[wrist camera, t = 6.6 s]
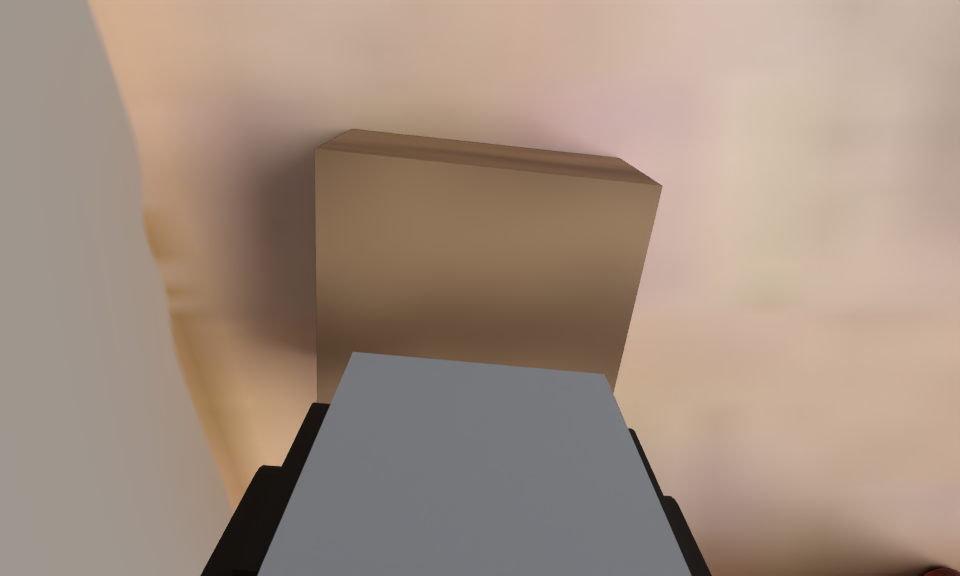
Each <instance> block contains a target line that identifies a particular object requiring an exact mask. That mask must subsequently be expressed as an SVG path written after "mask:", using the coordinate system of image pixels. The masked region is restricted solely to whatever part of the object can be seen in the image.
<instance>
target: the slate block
mask: <svg viewBox="0 0 960 576" xmlns="http://www.w3.org/2000/svg"><path fill="white" fill-rule="evenodd" d="M257 576H691V573H690V571H689V569H688V566H687V564H686V562H685V559H684V557H683V555H682V552H681V550H680V548H679V546H678V543H677V541H676V539H675V536H674V534H673V532H672V529H671V527H670V525H669V522H668V520H667V518H666V515H665V513H664V511H663V508H662V506H661V504H660V501H659V499H658V497H657V495H656V492H655V490H654V488H653V485H652V483H651V481H650V478H649V476H648V474H647V471H646V469H645V467H644V464H643V462H642V460H641V457H640V455H639V453H638V451H637V448H636V446H635V444H634V441H633V439H632V437H631V434H630V432H629V430H628V427H627V425H626V423H625V420H624V418H623V416H622V413H621V411H620V409H619V406H618V404H617V402H616V400H615V397H614V395H613V393H612V390H611V388H610V386H609V383H608V381H607V379H606V376H605V374H597V373H586V372H574V371H563V370H552V369H541V368H530V367H518V366H507V365H496V364H485V363H473V362H462V361H451V360H440V359H428V358H417V357H406V356H395V355H384V354H372V353H361V352H353V353H352V355H351V357H350V360H349V362H348V364H347V367H346V369H345V371H344V374H343V376H342V378H341V381H340V383H339V385H338V388H337V390H336V393H335V395H334V397H333V400H332V402H331V404H330V407H329V409H328V411H327V414H326V416H325V418H324V421H323V423H322V425H321V428H320V430H319V432H318V435H317V437H316V439H315V442H314V444H313V446H312V449H311V451H310V453H309V456H308V458H307V460H306V463H305V465H304V467H303V470H302V472H301V474H300V477H299V479H298V482H297V484H296V486H295V489H294V491H293V493H292V496H291V498H290V500H289V503H288V505H287V507H286V510H285V512H284V514H283V517H282V519H281V521H280V524H279V526H278V528H277V531H276V533H275V535H274V538H273V540H272V542H271V545H270V547H269V549H268V552H267V554H266V556H265V559H264V561H263V563H262V566H261V568H260V571H259V573H258V575H257Z"/></svg>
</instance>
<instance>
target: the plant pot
mask: <svg viewBox="0 0 960 576" xmlns="http://www.w3.org/2000/svg"><path fill="white" fill-rule="evenodd" d="M923 576H960V572H958V571H956V570H953V569H949V568H941V569H936V570H933V571H930V572H928V573H926V574H925V575H923Z"/></svg>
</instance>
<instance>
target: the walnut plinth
mask: <svg viewBox="0 0 960 576" xmlns="http://www.w3.org/2000/svg"><path fill="white" fill-rule="evenodd" d="M661 190H662V185H660V184H659V183H657V182H656V181H654V180H653V179H651V178H650V177H648V176H646V175H645V174H643V173H642V172H640V171H639V170H637V169H636V168H634V167H633V166H631V165H630V164H628V163H626V162H625V161H623V160H622V159H620V158H613V157H604V156H595V155H586V154H577V153H567V152H558V151H549V150H540V149H531V148H522V147H512V146H503V145H494V144H485V143H476V142H466V141H457V140H448V139H439V138H430V137H421V136H411V135H402V134H393V133H384V132H375V131H366V130H356V129H351V130H350V131H348V132H346V133H344V134H342V135H340V136H338V137H336V138H334V139H332V140H330V141H329V142H327V143H325V144H323V145H321V146H319V147H317V148H315V224H316V323H317V403H327V404H331V402H332V400H333V397H334V395H335V393H336V390H337V388H338V385H339V383H340V381H341V378H342V376H343V374H344V371H345V369H346V367H347V364H348V362H349V360H350V357H351V355H352V353H353V352H361V353H372V354H384V355H395V356H406V357H417V358H428V359H440V360H451V361H462V362H473V363H485V364H496V365H507V366H518V367H530V368H541V369H552V370H563V371H574V372H586V373H597V374H605V376H606V379H607V381H608V383H609V386H610V388H611V390H612V393H613V392H614V388H615V384H616V379H617V375H618V371H619V367H620V363H621V358H622V354H623V350H624V346H625V342H626V337H627V333H628V329H629V325H630V321H631V316H632V312H633V308H634V304H635V300H636V295H637V291H638V287H639V283H640V278H641V274H642V270H643V266H644V262H645V257H646V253H647V249H648V245H649V241H650V236H651V232H652V228H653V224H654V220H655V215H656V211H657V207H658V203H659V199H660V194H661Z"/></svg>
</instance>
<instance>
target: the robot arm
mask: <svg viewBox="0 0 960 576" xmlns="http://www.w3.org/2000/svg"><path fill="white" fill-rule="evenodd" d="M329 407H330V404H327V403H312V405H311V407H310V409H309V411H308V413H307V415H306V417H305V419H304V421H303V423H302V425H301V428H300V430H299V432H298V434H297V436H296V438H295V440H294V442H293V444H292V446H291V448H290V450H289V452H288V454H287V457H286V459H285V461H284V463H283V465H282V467H280V466H267V465H263V466H261V467H260V468H259V469H258V471H257V472H256V474H255V475H254V477H253V479H252V481H251V483H250V485H249V487H248V488H247V490H246V492H245V494H244V496H243V498H242V500H241V501H240V503H239V505H238V507H237V509H236V511H235V513H234V514H233V516H232V518H231V520H230V522H229V524H228V526H227V527H226V529H225V531H224V533H223V535H222V537H221V539H220V540H219V543H218V544H217V546H216V548H215V550H214V552H213V553H212V555H211V557H210V559H209V561H208V563H207V565H206V566H205V568H204V570H203V572H202V574H201V576H257V575H258V573H259V571H260V568H261V566H262V563H263V561H264V559H265V556H266V554H267V552H268V549H269V547H270V545H271V542H272V540H273V538H274V535H275V533H276V531H277V528H278V526H279V524H280V521H281V519H282V517H283V514H284V512H285V510H286V507H287V505H288V503H289V500H290V498H291V496H292V493H293V491H294V489H295V486H296V484H297V482H298V479H299V477H300V474H301V472H302V470H303V467H304V465H305V463H306V460H307V458H308V456H309V453H310V451H311V449H312V446H313V444H314V442H315V439H316V437H317V435H318V432H319V430H320V428H321V425H322V423H323V421H324V418H325V416H326V414H327V411H328V409H329ZM628 430H629V432H630V434H631V437H632V439H633V441H634V444H635V446H636V448H637V451H638V453H639V455H640V457H641V460H642V462H643V464H644V467H645V469H646V471H647V474H648V476H649V478H650V481H651V483H652V485H653V488H654V490H655V492H656V495H657V497H658V499H659V501H660V504H661V506H662V508H663V511H664V513H665V515H666V518H667V520H668V522H669V525H670V527H671V529H672V532H673V534H674V536H675V539H676V541H677V543H678V546H679V548H680V550H681V552H682V555H683V557H684V559H685V562H686V564H687V566H688V569H689V571H690V573H691V576H712V575H711V573H710V571H709V569H708V567H707V565H706V563H705V561H704V558H703V556H702V554H701V552H700V550H699V548H698V546H697V544H696V541H695V539H694V537H693V535H692V533H691V531H690V529H689V527H688V525H687V522H686V520H685V518H684V516H683V514H682V512H681V510H680V508H679V505H678V504H677V502H676V501H675V499H674V498H672V497H671V496H663V493H662V491H661V489H660V487H659V484H658V482H657V480H656V478H655V475H654V473H653V471H652V469H651V467H650V464H649V462H648V460H647V458H646V455H645V453H644V451H643V449H642V446H641V444H640V442H639V440H638V437H637V435H636V433H635V431H634V430H633V429H630V428H628Z"/></svg>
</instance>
